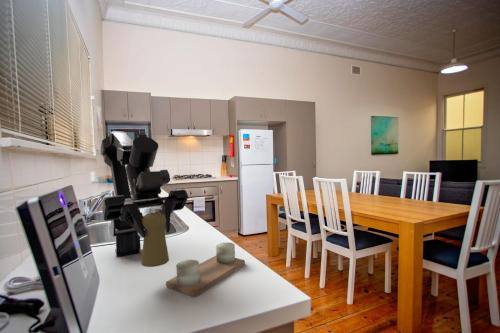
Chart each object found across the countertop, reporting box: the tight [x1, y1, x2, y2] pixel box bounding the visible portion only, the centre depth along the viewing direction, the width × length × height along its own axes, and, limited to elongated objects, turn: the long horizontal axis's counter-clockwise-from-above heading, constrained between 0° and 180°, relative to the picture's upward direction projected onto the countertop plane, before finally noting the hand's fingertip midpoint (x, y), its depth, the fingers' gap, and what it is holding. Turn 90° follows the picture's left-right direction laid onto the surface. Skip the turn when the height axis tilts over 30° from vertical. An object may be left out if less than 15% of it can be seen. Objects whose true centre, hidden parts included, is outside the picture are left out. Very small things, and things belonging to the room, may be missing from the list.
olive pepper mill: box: [140, 212, 170, 268], centre depth 60 cm, size 6×6×11 cm
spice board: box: [165, 241, 246, 298], centre depth 65 cm, size 9×19×5 cm, turn 148°
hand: (156, 234), depth 59 cm, fingers closed on olive pepper mill, 5 cm apart
